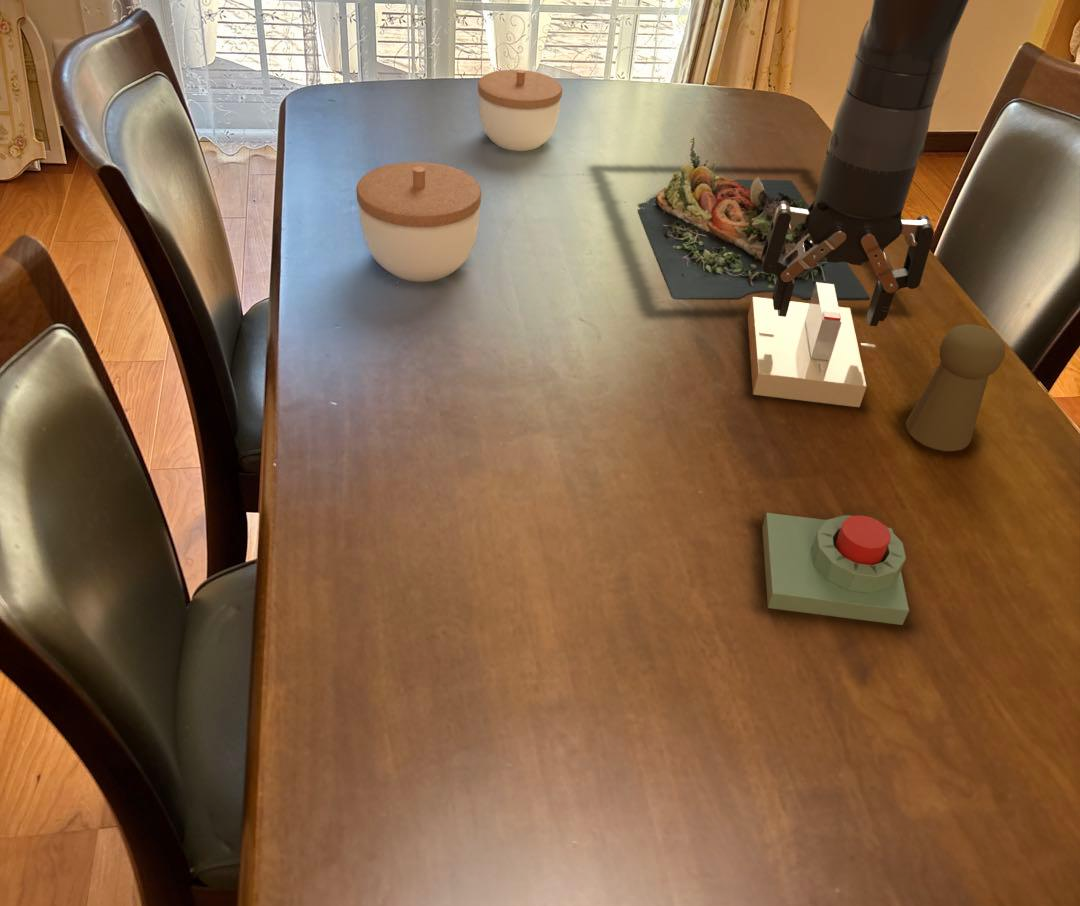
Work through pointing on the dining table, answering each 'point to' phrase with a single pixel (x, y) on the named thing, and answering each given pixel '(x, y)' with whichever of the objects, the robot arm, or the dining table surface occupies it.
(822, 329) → the white switch lever
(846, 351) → the switch base
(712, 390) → the dining table surface
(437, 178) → the lidded bowl
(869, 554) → the button
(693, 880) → the dining table surface
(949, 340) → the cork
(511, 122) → the trinket box
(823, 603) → the button box
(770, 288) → the plated dish
